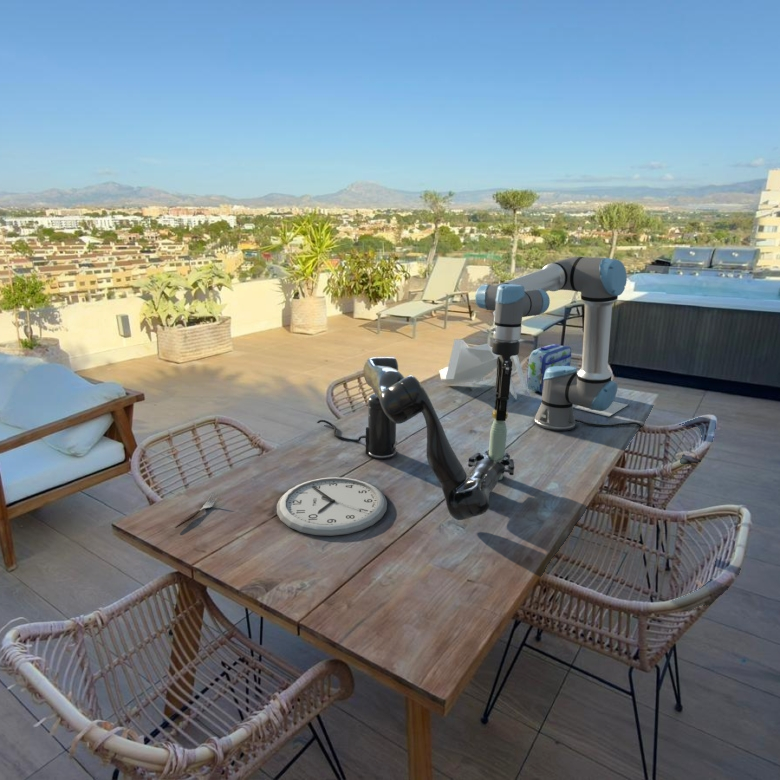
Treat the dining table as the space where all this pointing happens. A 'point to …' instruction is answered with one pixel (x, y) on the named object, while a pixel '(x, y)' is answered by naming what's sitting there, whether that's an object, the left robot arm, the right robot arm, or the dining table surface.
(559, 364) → the lunch box
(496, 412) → the cap
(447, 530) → the dining table surface
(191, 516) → the fork
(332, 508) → the wall clock
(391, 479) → the dining table surface
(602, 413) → the invitation card
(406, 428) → the dining table surface
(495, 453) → the bottle
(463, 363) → the white plastic object
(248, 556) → the dining table surface
